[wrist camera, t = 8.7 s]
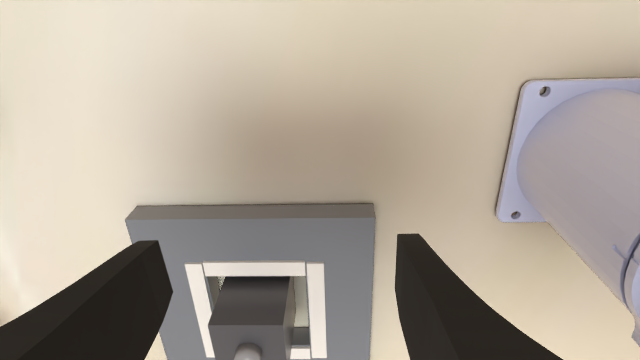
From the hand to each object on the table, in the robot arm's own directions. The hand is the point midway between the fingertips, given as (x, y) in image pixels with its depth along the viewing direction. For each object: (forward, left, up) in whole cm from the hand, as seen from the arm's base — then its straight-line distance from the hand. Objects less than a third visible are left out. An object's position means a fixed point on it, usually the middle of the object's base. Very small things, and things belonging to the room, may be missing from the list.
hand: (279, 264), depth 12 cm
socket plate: (+3, +11, -10) cm, 15 cm away
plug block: (+3, +10, -10) cm, 15 cm away
